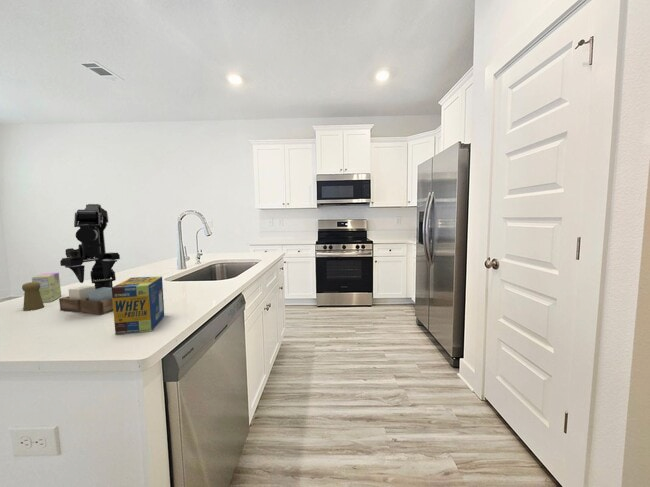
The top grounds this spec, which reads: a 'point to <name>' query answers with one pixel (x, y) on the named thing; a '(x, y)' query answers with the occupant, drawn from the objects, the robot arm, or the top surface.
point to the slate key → (100, 294)
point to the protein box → (138, 304)
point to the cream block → (80, 292)
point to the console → (86, 305)
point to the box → (48, 286)
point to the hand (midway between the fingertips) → (94, 280)
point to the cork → (32, 296)
